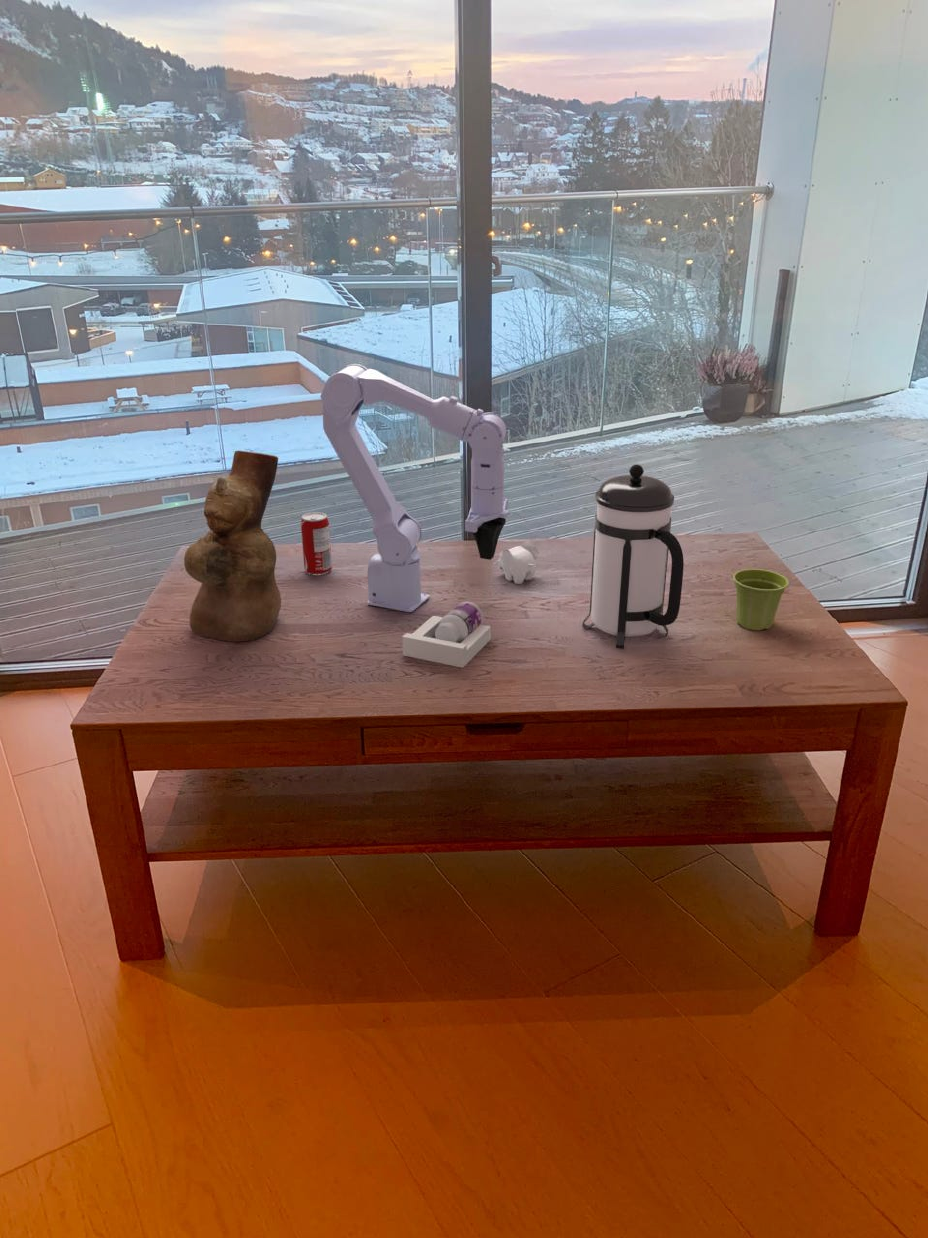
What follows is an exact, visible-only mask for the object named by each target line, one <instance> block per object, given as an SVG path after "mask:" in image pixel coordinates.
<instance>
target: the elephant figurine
mask: <svg viewBox="0 0 928 1238" xmlns="http://www.w3.org/2000/svg"><path fill="white" fill-rule="evenodd" d="M539 554H540V553H539V551H538V549H537V547H536V545H535V544H534V542H532V541H531V540H526V541H524V542H522V543H521V545H517V546H514V547H512V548H509V549H507V548H506V549H505V548H504V549H503V550H502V551H501V552H500V553H499V558H498V560H496V561H495V562H493V563H492V566H493V565H496V564H497V568H498V572H500V573H504V577H505V580H507V581H509V582H512V581H513V582H514V583H515V584H516V585H521V584H523V583H524V581H525V580H526V581H529V580H532V579H534V576H535V574H536V571H537V565H536V561H535V560H537V559H538V557H539Z"/></svg>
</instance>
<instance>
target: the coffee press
mask: <svg viewBox="0 0 928 1238" xmlns="http://www.w3.org/2000/svg"><path fill="white" fill-rule="evenodd" d="M644 471H645V470H644V467H642V466H641V464H633V465H631V467H630V469H629V470H628V472H629V474H627V475H618V476H614V477H611V478H609V479H607V480H605V481H604V482H602V484H601V485H600V486H599V489H598V490H597V491H596V492H595V495H594V498H595V499H594V500H595V502H596V504H597V505H596V506H597V507H596V513H595V516H594V533H593V549H592V564H591V565H592V567H591V569H592V570H591V584H590V599H589V600H590V602H589V613H588V615H587V616H586V617H585V618H584V619H583V621H582V628H583V629H585V630H588V629H589V630H590V628H592V627H593V626H595V627H596V628H598V629H599V630H600V631H602V632H603V633H606V634H610V635H613V636H616V641H615V649H621V650H624V649H625V646H626V645H625V642H626V638H627V637H628V638H629V637H632V638H633V637H642V636H644V635H648V634H650V633H652V632H655V633H656V634H657V635H658V636H659V637H661V638H666V637H668V634H669V628H668V626H669V625H671V624H673V623H674V622H676V620H677V619H678V616H679V612H680V608H681V599H682V589H683V580H684V579H683V578H684V568H685V567H684V564H685V563H684V562H685V561H684V554H683V553H684V552H683V549H682V546H681V544H680V542H679V540H678V539H677V537H676V536H675V535H674V534H672V533H671V528H672V517H671V513H672V512H671V511H672V507H673V505H674V503H675V496H674V494H673V493H672V491H671V488H670V487H669V485H668V484H667V483H665V482H664V481H662V480H660V479H658V478H655V477H651V476H647V475H643V474H644V473H645V472H644ZM669 554H670V558H671V569H670V579H669V580H670V582H669V592H668V601H667V602H668V603H667V609H666V612H665V613H664V603H665V593H666V583H667V581H666V580H667V571H668V561H669ZM590 616H591V621H592V623H591V624H589V625H587V624H586V623H585V622H586V621H587V620H588V619H589V617H590ZM660 626H661V627H663V630H664V631H666V632H665V633H662V632H661V631H660V630H659V629H658V627H660Z"/></svg>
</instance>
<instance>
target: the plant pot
mask: <svg viewBox="0 0 928 1238" xmlns="http://www.w3.org/2000/svg"><path fill="white" fill-rule="evenodd" d="M732 579H733V582H734V584H735V589H736V623H737V624H739V625H741V627H742V628H745V629H747V630H752V631H761V630H764V629H766V630H769V629H771V628H772V627H773V623H774V621H775V617H776V613H777V611H778V608H779V605H780V602H781V599H782V596H783V594H784V593H785V590H786V589H787V588H788V587H789V583H790V581H789V579H788V578H787V577H786V576H784V575H783V574H780V573H779V572H775V571H771V570H768V569H762V568H761V569H760V568H759V569H758V568H747V569H741V570H738V571H736V572H735V573H734V574H733V575H732Z"/></svg>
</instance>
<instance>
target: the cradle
mask: <svg viewBox="0 0 928 1238" xmlns="http://www.w3.org/2000/svg"><path fill="white" fill-rule="evenodd" d="M443 617H444V616H443ZM443 617H442V616H437V615H432V616H431V617H430V618H429V619H427V620H425V622H423V624H422V625H420V626H419V627H418V628H417V629H416V630H415V631H414V632H412V633H410V632H409V633H408V632H406V633H404V634H403V635H402V639H401V640H402V656H405V657H410V658H414V659H419V660H424V661H429V662H433V663H437V664H443V665H449V666H452V667H456V668H462V669H463V668H465V666H466V665H467V664H468V663H469V662H471V660H472V659H473V658H474V657H475V656H476V655H477V654H478V653H479V652H480V651H481V650H482V649H483V648H484V647H485V646H486V645H488V643H489V642H490V641H491V636H492V635H491V632H492V631H491V630H492V628H491V626H490V625H485V624H480V625H479V626H478V627H477V628H476V629H475V630H474V631H473V632H472V633H471V634H470V635H469V636H468V637H467V638H465V639H464V640H463V641H462V642H461V643H455V642H450V641H445V640H440V639H436V637H435V631H436V629H437V628H438V627H439V623H440V621H441V619H442V618H443Z"/></svg>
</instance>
